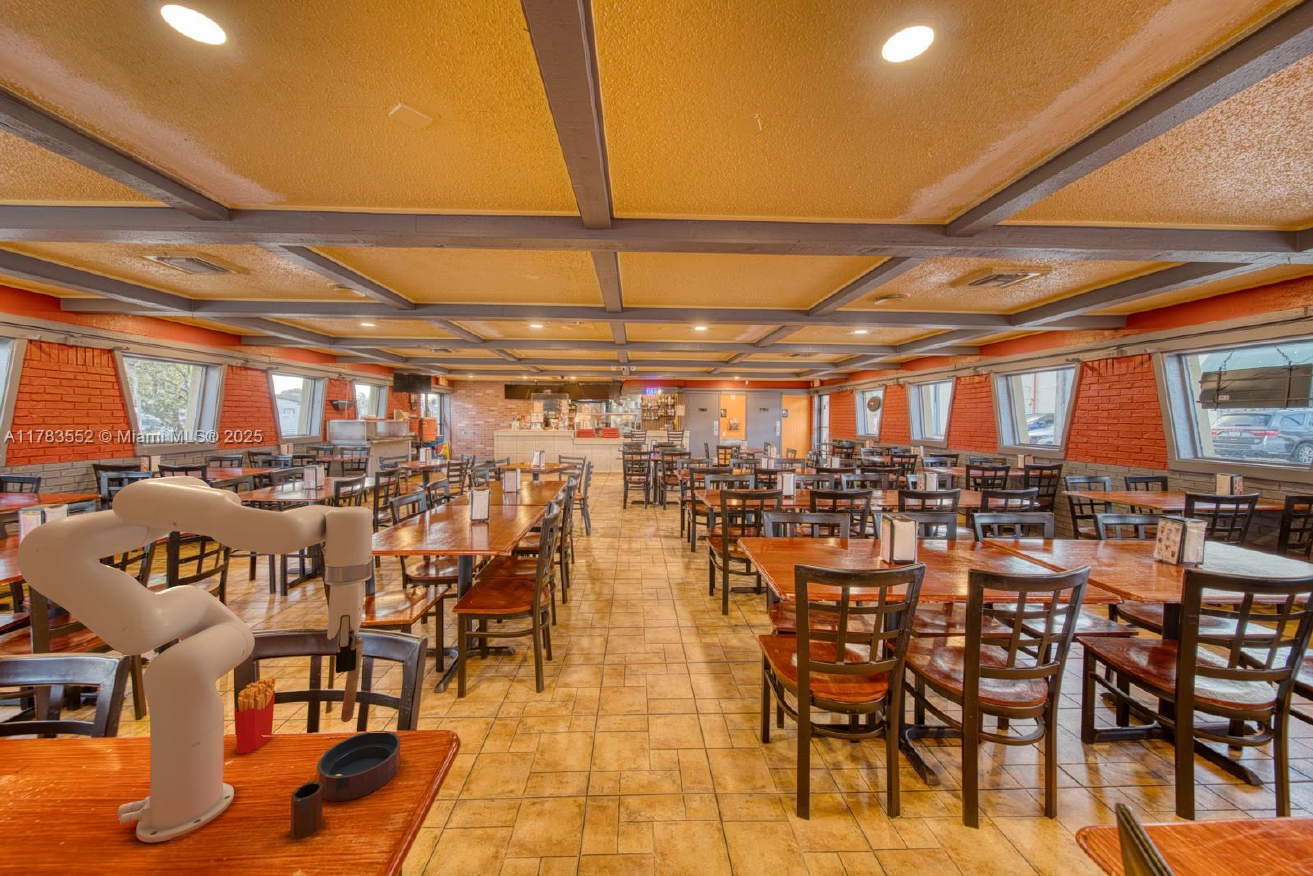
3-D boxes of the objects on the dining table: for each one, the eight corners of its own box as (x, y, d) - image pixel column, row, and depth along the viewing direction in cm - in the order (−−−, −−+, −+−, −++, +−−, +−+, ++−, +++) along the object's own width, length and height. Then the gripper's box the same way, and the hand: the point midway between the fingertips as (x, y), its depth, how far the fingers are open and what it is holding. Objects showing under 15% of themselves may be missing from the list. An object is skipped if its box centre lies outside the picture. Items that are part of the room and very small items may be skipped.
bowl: (310, 814, 85) (310, 787, 86) (323, 766, 98) (324, 742, 98) (399, 788, 92) (399, 763, 92) (401, 746, 105) (401, 724, 105)
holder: (288, 845, 79) (288, 803, 79) (294, 826, 83) (294, 786, 83) (319, 835, 81) (320, 794, 81) (324, 817, 85) (324, 778, 85)
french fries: (248, 756, 101) (249, 696, 101) (228, 756, 101) (229, 696, 101) (280, 730, 110) (281, 674, 110) (262, 730, 110) (262, 674, 110)
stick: (339, 725, 88) (352, 639, 89) (340, 719, 90) (352, 635, 91) (352, 723, 89) (364, 638, 90) (352, 717, 91) (364, 634, 92)
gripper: (330, 564, 95) (328, 655, 95) (318, 586, 81) (316, 692, 81) (373, 560, 99) (371, 647, 98) (369, 580, 85) (366, 682, 85)
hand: (346, 667), depth 90 cm, fingers closed on stick, 2 cm apart
